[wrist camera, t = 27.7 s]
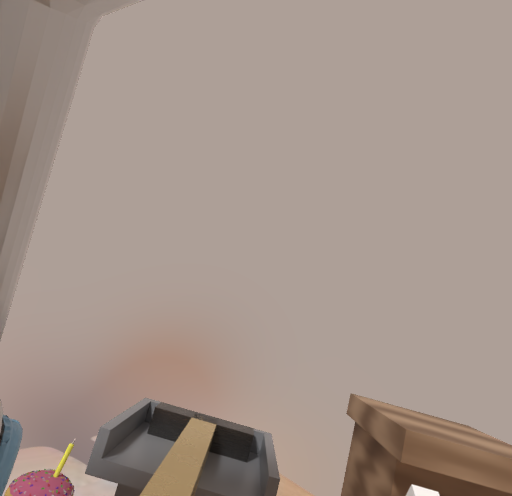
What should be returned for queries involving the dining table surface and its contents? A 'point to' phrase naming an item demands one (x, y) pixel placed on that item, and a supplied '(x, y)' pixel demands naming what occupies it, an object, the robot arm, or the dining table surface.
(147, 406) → the tray stand
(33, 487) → the cupcake
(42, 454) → the dining table surface
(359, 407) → the pin stand
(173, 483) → the pin
